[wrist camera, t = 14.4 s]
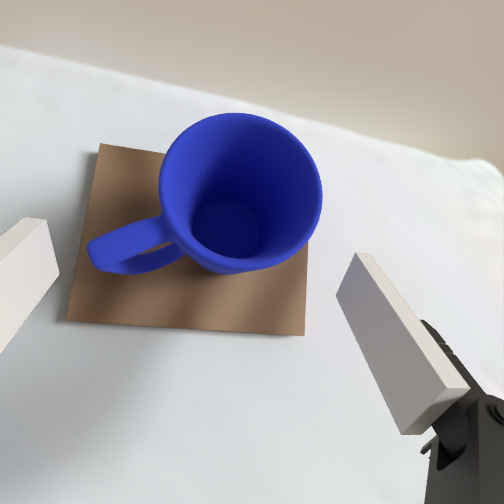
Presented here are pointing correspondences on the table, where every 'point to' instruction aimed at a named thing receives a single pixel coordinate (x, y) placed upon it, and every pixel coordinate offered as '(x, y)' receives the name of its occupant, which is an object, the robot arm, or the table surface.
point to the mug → (223, 201)
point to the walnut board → (174, 267)
